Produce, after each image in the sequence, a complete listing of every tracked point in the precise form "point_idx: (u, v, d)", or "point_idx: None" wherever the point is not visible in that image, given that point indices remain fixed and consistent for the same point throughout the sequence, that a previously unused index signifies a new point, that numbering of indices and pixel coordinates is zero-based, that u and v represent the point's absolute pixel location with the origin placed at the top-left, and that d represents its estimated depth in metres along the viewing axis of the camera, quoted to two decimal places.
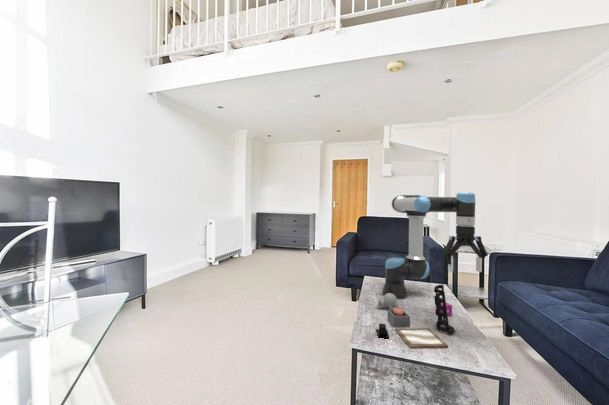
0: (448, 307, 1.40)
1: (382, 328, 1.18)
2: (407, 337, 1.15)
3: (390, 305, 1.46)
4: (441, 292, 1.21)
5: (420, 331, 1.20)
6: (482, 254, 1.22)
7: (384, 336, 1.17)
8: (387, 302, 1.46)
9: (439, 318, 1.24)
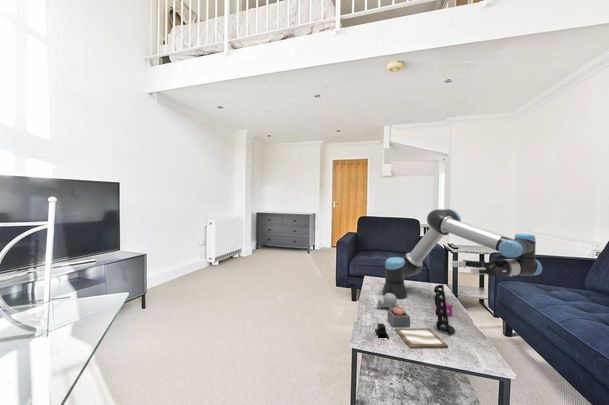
0: (448, 307, 1.40)
1: (382, 328, 1.18)
2: (407, 337, 1.15)
3: (390, 305, 1.46)
4: (441, 292, 1.21)
5: (420, 331, 1.20)
6: (467, 266, 1.31)
7: (384, 336, 1.17)
8: (387, 302, 1.46)
9: (439, 318, 1.24)
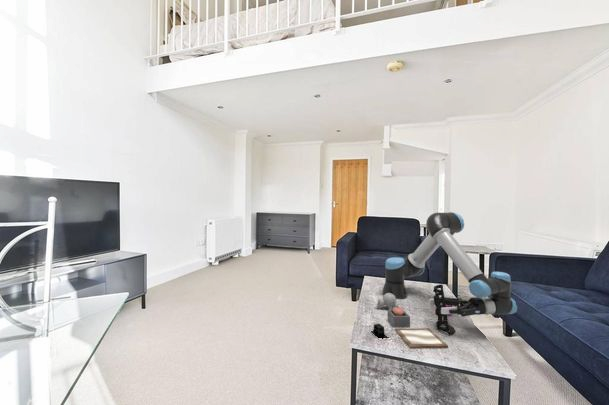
0: None
1: (381, 328, 1.18)
2: (407, 337, 1.15)
3: (389, 305, 1.46)
4: (440, 292, 1.21)
5: (420, 331, 1.20)
6: None
7: (383, 336, 1.17)
8: (386, 302, 1.46)
9: None
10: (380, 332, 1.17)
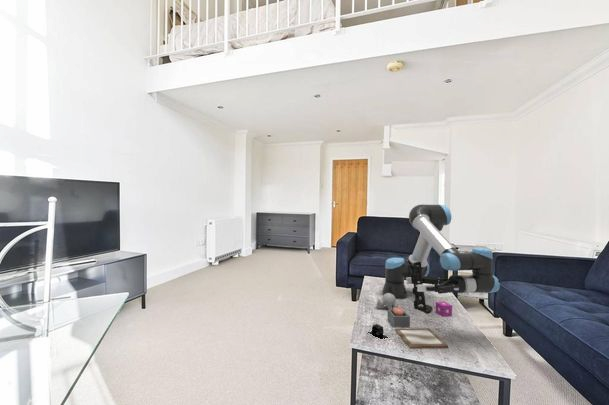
0: (448, 307, 1.40)
1: (380, 329, 1.17)
2: (407, 337, 1.15)
3: (389, 305, 1.46)
4: (417, 268, 1.13)
5: (420, 331, 1.20)
6: (423, 282, 1.22)
7: (383, 336, 1.17)
8: (386, 302, 1.46)
9: None
10: (380, 332, 1.17)
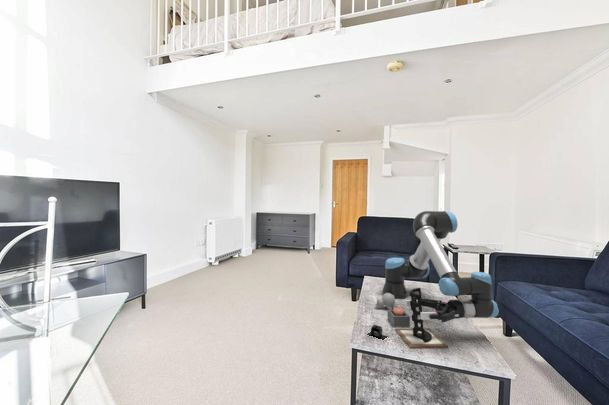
0: None
1: (380, 329, 1.17)
2: (407, 337, 1.15)
3: (388, 305, 1.46)
4: (416, 296, 1.13)
5: (420, 331, 1.20)
6: None
7: (382, 336, 1.17)
8: (385, 302, 1.46)
9: None
10: (380, 333, 1.16)
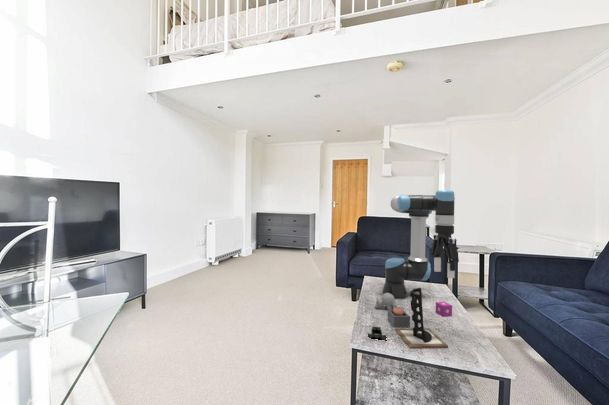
0: (448, 307, 1.40)
1: (380, 330, 1.16)
2: (407, 337, 1.15)
3: (388, 305, 1.46)
4: (416, 296, 1.12)
5: (420, 331, 1.20)
6: (449, 259, 1.12)
7: (382, 336, 1.17)
8: (385, 302, 1.46)
9: (415, 324, 1.15)
10: None
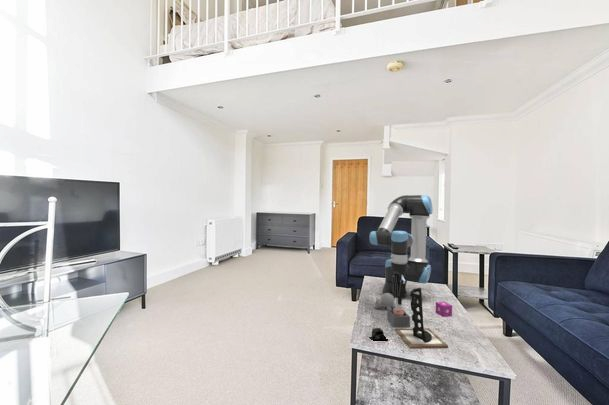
0: (448, 307, 1.39)
1: None
2: (407, 337, 1.15)
3: (388, 305, 1.46)
4: (416, 296, 1.12)
5: (420, 331, 1.20)
6: (397, 295, 1.29)
7: None
8: (385, 302, 1.46)
9: (415, 324, 1.15)
10: None
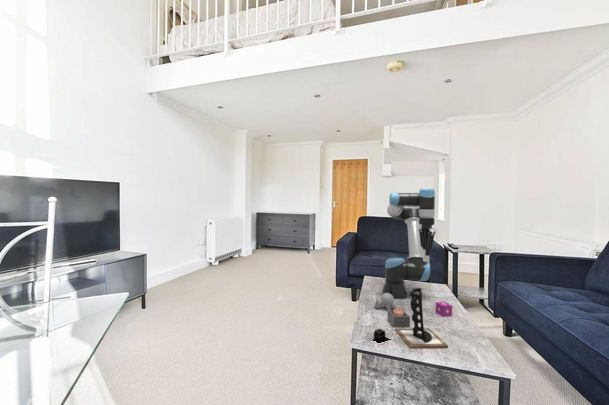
0: (448, 307, 1.39)
1: None
2: (407, 337, 1.15)
3: (387, 305, 1.46)
4: (416, 296, 1.12)
5: (420, 331, 1.20)
6: (425, 247, 1.40)
7: (382, 336, 1.17)
8: (384, 302, 1.46)
9: (415, 324, 1.15)
10: None
